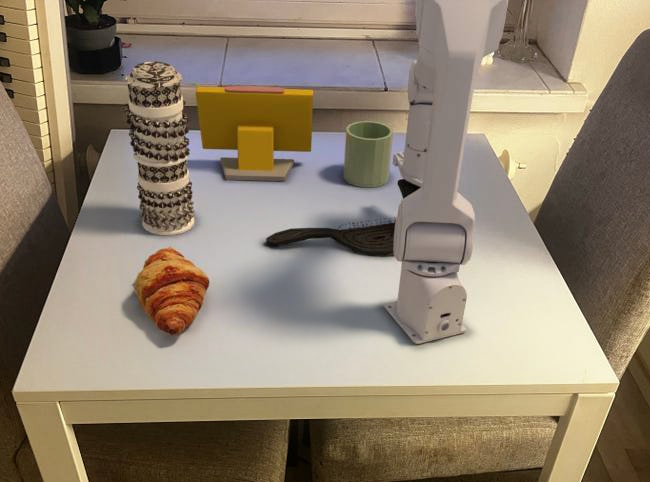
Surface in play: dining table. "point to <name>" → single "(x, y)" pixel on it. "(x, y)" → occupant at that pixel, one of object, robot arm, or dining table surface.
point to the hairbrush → (344, 237)
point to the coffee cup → (367, 153)
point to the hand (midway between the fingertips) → (414, 223)
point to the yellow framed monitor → (255, 128)
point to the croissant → (171, 290)
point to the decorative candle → (160, 147)
